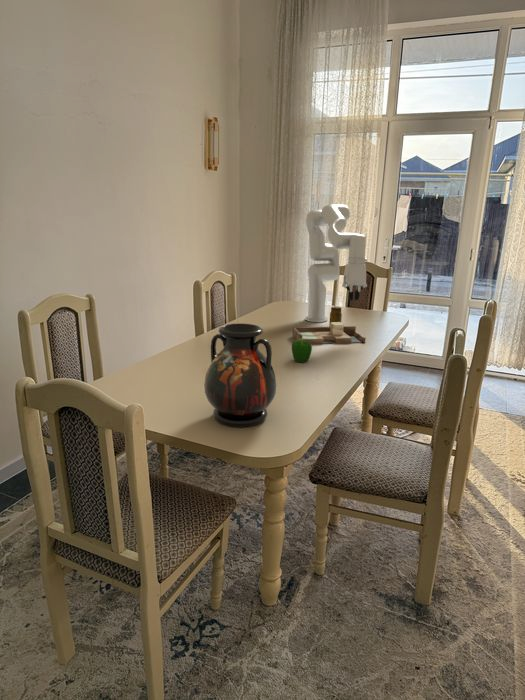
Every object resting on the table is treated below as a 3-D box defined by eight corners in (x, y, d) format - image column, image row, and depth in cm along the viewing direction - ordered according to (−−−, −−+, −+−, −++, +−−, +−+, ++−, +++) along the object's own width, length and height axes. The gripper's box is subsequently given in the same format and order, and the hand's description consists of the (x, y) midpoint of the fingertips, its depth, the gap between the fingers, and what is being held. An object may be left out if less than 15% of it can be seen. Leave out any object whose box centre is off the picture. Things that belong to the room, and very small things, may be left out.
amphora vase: (191, 425, 144) (189, 332, 136) (223, 399, 164) (222, 317, 156) (260, 438, 137) (262, 341, 129) (284, 409, 156) (287, 323, 149)
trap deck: (292, 336, 244) (292, 327, 242) (354, 334, 249) (355, 326, 248) (299, 344, 229) (300, 335, 228) (365, 342, 235) (365, 333, 233)
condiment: (334, 327, 263) (336, 305, 259) (346, 331, 256) (348, 308, 253) (325, 329, 258) (326, 307, 255) (337, 333, 252) (338, 310, 248)
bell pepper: (299, 356, 211) (300, 334, 209) (314, 361, 206) (315, 337, 203) (286, 360, 206) (287, 337, 203) (301, 365, 200) (302, 341, 197)
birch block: (330, 332, 242) (330, 322, 241) (339, 332, 243) (340, 322, 242) (333, 334, 238) (333, 324, 236) (343, 334, 239) (343, 324, 237)
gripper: (369, 260, 237) (366, 298, 242) (337, 260, 234) (335, 298, 239) (375, 262, 230) (372, 301, 235) (342, 262, 227) (340, 301, 232)
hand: (353, 299), depth 237 cm, fingers closed
